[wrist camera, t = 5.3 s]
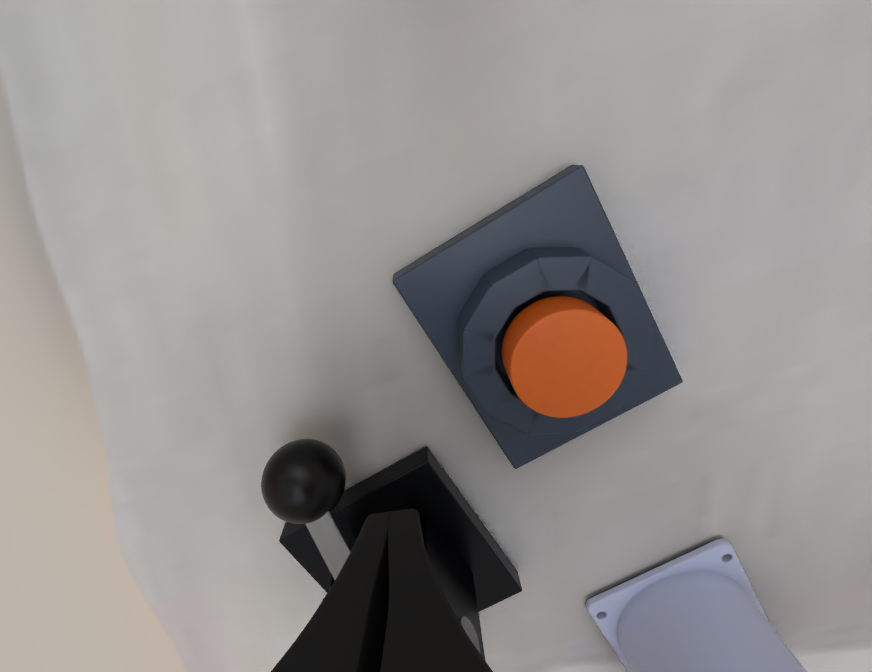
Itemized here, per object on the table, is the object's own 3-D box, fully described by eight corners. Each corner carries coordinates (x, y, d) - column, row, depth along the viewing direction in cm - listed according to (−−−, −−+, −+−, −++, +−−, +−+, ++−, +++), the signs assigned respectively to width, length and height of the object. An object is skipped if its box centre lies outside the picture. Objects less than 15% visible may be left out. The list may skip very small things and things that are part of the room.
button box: (669, 370, 21) (708, 402, 18) (510, 454, 22) (523, 497, 20) (572, 164, 18) (602, 165, 15) (392, 274, 19) (389, 293, 16)
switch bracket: (284, 522, 23) (225, 690, 16) (426, 445, 22) (433, 588, 15) (387, 635, 26) (377, 820, 19) (517, 571, 25) (561, 743, 18)
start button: (625, 363, 18) (646, 383, 17) (531, 413, 19) (542, 437, 17) (580, 274, 17) (598, 286, 15) (481, 331, 17) (488, 349, 16)
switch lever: (272, 453, 21) (229, 474, 18) (333, 418, 21) (300, 434, 17) (395, 687, 20) (373, 753, 17) (461, 656, 20) (451, 718, 17)
